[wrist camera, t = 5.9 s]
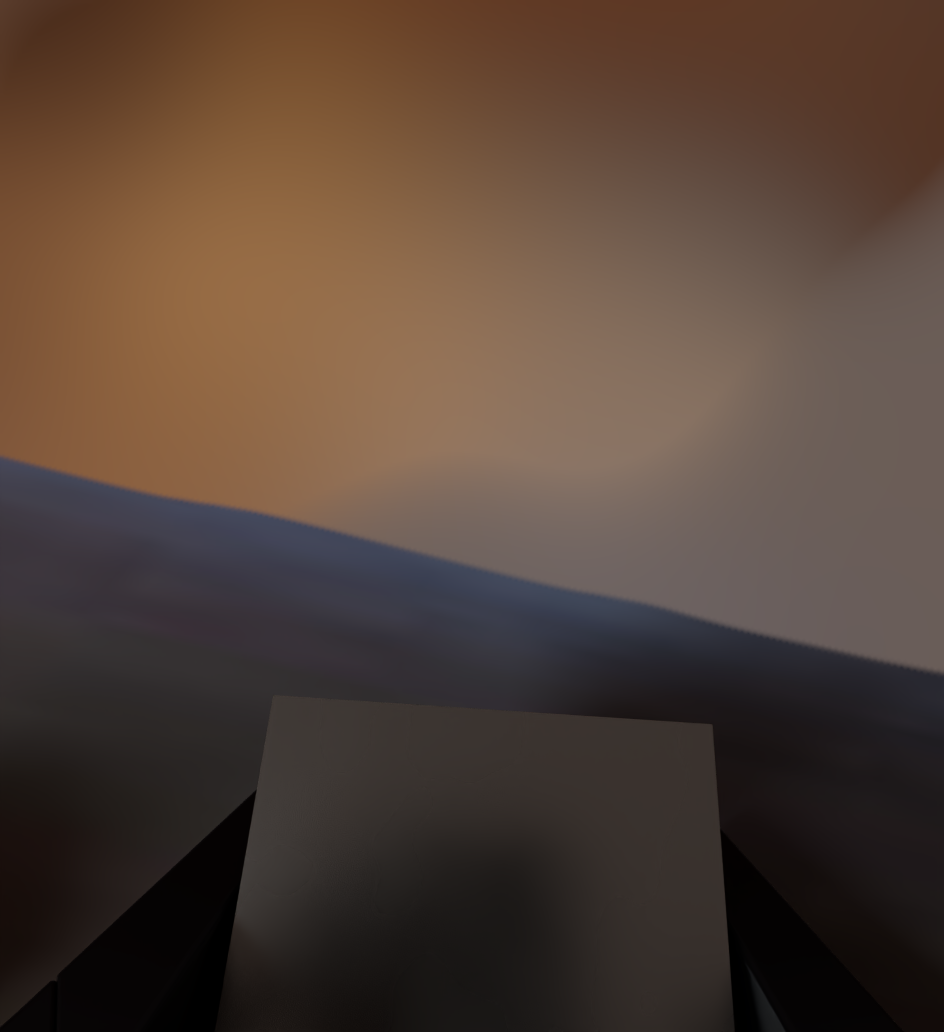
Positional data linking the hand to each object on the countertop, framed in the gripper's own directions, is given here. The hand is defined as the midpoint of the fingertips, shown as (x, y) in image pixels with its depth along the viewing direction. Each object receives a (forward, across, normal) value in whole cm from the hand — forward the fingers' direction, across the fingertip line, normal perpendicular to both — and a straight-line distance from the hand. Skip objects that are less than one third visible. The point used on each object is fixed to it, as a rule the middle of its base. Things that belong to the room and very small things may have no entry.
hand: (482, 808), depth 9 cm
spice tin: (+4, 0, +6) cm, 7 cm away
